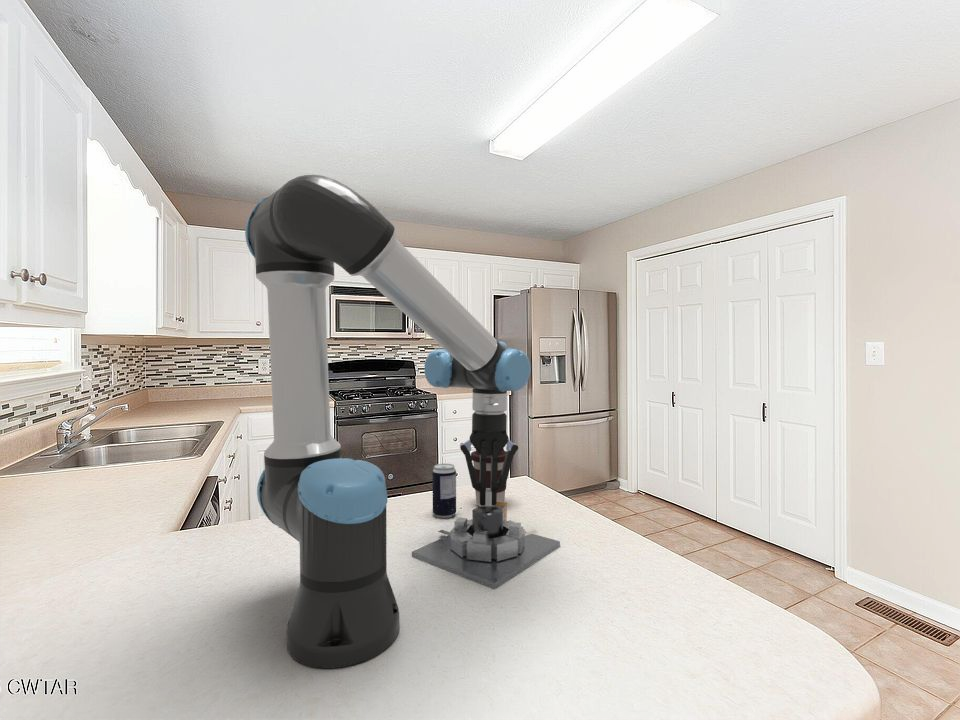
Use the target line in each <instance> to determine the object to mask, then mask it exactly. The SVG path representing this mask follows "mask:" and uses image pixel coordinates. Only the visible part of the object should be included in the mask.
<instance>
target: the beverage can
mask: <svg viewBox="0 0 960 720" xmlns="http://www.w3.org/2000/svg"><path fill="white" fill-rule="evenodd" d="M431 475H432V513H433V515H435V517H436V518H439V519H449V518H451V517H454V515H455V513H456V512H457V470H456V467H455V464H453V463H437V464H435V465H434V466H433V470H432V473H431Z"/></svg>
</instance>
